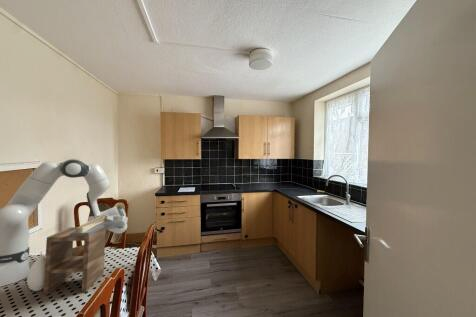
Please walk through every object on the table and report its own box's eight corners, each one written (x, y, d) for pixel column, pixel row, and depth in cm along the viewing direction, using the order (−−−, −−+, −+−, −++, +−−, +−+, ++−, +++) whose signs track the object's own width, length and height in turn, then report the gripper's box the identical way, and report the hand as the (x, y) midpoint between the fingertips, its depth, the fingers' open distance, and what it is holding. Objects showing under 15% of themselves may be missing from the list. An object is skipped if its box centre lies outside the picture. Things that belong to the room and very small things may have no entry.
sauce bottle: (21, 296, 84) (24, 256, 85) (35, 285, 91) (37, 248, 92) (42, 294, 86) (45, 254, 86) (54, 283, 93) (56, 247, 94)
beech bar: (75, 233, 88) (75, 228, 88) (102, 218, 110) (102, 214, 110) (82, 233, 89) (82, 227, 89) (108, 218, 110) (108, 214, 110)
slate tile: (70, 236, 88) (70, 233, 88) (88, 227, 101) (88, 224, 101) (88, 235, 89) (88, 232, 89) (104, 226, 102) (104, 224, 102)
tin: (60, 266, 109) (61, 251, 110) (59, 264, 111) (60, 249, 112) (92, 256, 121) (92, 243, 121) (91, 255, 123) (91, 242, 123)
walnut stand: (43, 294, 85) (46, 237, 86) (66, 276, 99) (69, 227, 100) (86, 291, 88) (89, 236, 89) (103, 274, 102) (105, 226, 103)
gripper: (96, 218, 118) (84, 211, 107) (130, 217, 121) (122, 211, 109) (92, 228, 115) (79, 223, 103) (127, 227, 118) (119, 222, 106)
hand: (101, 217), depth 106 cm, fingers open, 3 cm apart
